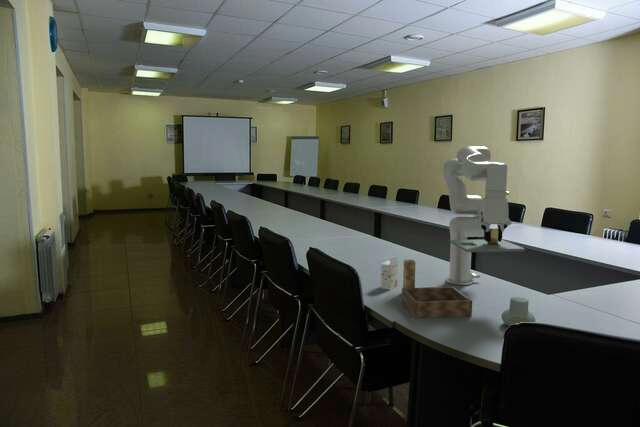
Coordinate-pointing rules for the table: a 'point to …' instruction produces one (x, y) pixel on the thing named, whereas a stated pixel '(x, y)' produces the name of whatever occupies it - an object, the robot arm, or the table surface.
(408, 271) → the key peg
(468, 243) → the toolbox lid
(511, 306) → the air freshener
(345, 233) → the table surface
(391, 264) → the ink cartridge box
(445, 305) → the toolbox
